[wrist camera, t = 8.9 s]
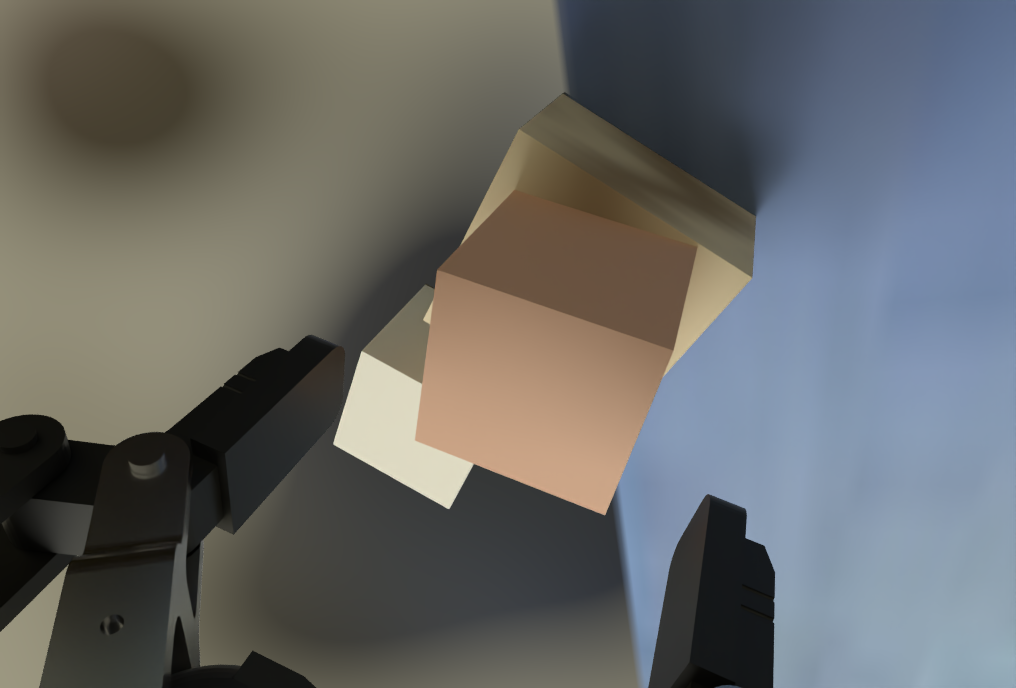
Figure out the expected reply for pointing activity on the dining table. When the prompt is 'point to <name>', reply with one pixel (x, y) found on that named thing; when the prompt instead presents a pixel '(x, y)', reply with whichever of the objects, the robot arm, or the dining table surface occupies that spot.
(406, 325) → the cream cube
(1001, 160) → the dining table surface
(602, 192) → the beech block
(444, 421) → the terracotta cube
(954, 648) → the dining table surface
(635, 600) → the dining table surface
